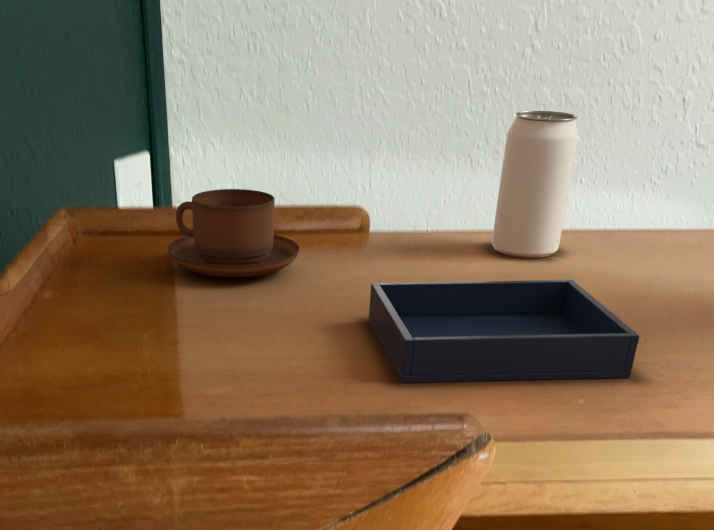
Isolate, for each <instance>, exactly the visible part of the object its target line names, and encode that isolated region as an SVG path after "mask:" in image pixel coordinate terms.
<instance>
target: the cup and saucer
mask: <svg viewBox="0 0 714 530" xmlns="http://www.w3.org/2000/svg"><path fill="white" fill-rule="evenodd" d="M275 201H276V199H275V197H274V195H273V194H271V193H268V192H265V191H261V190H255V189H247V188H246V189H244V188H222V189H211V190H206V191H201V192H198V193H196V194H194V195H193V196H192V197H191V201H188V200H187V201H184V202H181V203H180V204H179V206H177V208H176V211H175V222H176V225H177V227H178V230H179V231H180V232H182V234H183V235H185V236H182V237H179V238H177V239H175V240H173V241H171V242H170V243H169V244H168V246H167V252H168V255H169V257H170V258H171V260H173V262H174V263H175V264H177V265H178V266H180V267H181V268H183V269H185V270H187V271H190V272H193V273H196V274H201V275H204V276H205V275H206V276H211V277H220V278H247V277H256V276H262V275H267V274H271V273H275V272H277V271H280V270H282V269H285V268H287V267H288V266H289V265H291V264H292V263H293V262H294V261H295V260H296V259H297V258H298V256H299V253H300V246H299V244H298V243H297V242H295V241H294V240H293V239H290V238H287V237H285V236H283V235H282V236H281V235H277V234H275V233H274V232H275V229H274V227H275ZM187 210H191V212H192V228H189V227H187V225H185V223H184V220H183V215H184V212H185V211H187Z"/></svg>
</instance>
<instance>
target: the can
mask: <svg viewBox="0 0 714 530" xmlns="http://www.w3.org/2000/svg"><path fill="white" fill-rule="evenodd" d="M513 116H514V119H513V122H512V123H511V124H510V127H509V129H508V130H507V134H506V139H505V145H504V152H503V159H502V166H501V173H500V180H499V187H498V193H497V201H496V208H495V209H496V210H495V215H494V222H493V231H492V238H491V245H492V247H493V250H495V252H497V253H499V254H501V255H504V256H509V257H512V258H520V259H542V258H548V257H551V256H553V255H554V254H555V253H556V252H557V251H559V248H560V243H561V238H562V232H563V226H564V222H565V215H566V210H567V204H568V199H569V192H570V188H571V184H572V183H571V182H572V176H573V171H574V165H575V160H576V154H577V147H578V141H579V132H578V131H579V130H578V128H577V123H576V120H577V119H578V115H576V114H574V113H569V112H563V111H554V110H553V111H552V110H523V111H517V112H515V113H514V115H513Z"/></svg>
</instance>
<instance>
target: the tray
mask: <svg viewBox="0 0 714 530" xmlns="http://www.w3.org/2000/svg"><path fill="white" fill-rule="evenodd" d="M368 322H369V325H370V326H371V328H372V330H373V333H375V335H376V337H377V340H378V341H379V343H380V345H381V347H382V349H383V351H384V353H385V355H386V356H387V359H388V360H389V362H390V365H391V366H392V368H393V370H394V371H395V373H396V375H397V377H398V379H399V381H400V382H401V383H402V384H405V383H407V384H408V383H411V384H412V383H448V382H449V383H450V382H452V383H453V382H454V383H455V382H490V381H492V382H494V381H495V382H497V381H533V380H535V381H536V380H572V379H573V380H578V379H579V380H580V379H582V380H584V379H585V380H586V379H621V378H622V379H624V378H625V379H627V378H631V374H632V370H633V367H634V361H635V357H636V353H637V350H638V345H639V340H640V334H638V332H636V331H635V330H634V329H632V328H631V327H630V326H628V324H627V323H625V322H624V321H623V320H622V319H621V318H619V317H618V316H617V315H615V314H614V313H613V311H611V310H609V308H608V307H606V306H605V305H604V304H602V303H601V302H600V301H598V300H597V298H595V297H594V296H593V295H591V293H590V292H588V291H587V290H585V288H583V287H582V286H581V285H579V283H577V282H576V281H575V280H574V279H541V280H540V279H539V280H538V279H537V280H536V279H535V280H534V279H533V280H532V279H531V280H480V281H479V280H477V281H476V280H475V281H473V280H472V281H471V280H470V281H418V282H417V281H415V282H413V281H412V282H410V281H409V282H408V281H407V282H371V283H370V295H369V310H368Z"/></svg>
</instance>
